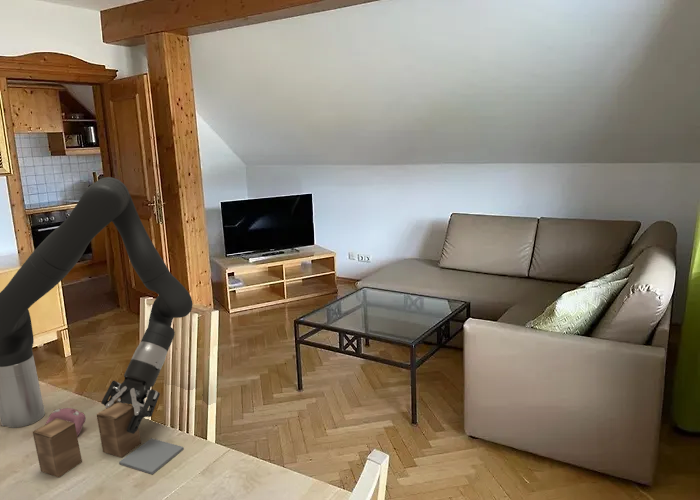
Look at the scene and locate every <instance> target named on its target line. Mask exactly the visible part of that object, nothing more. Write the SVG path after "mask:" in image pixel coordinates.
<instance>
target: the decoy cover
mask: <svg viewBox="0 0 700 500" xmlns="http://www.w3.org/2000/svg"><path fill="white" fill-rule="evenodd" d="M32 436H33V440H34V446H35V449H36V455H37V460H38V463H39V469H40V472H42V473H43V474H44V473H45V474H47V475H51V476H53V477H57V478H60V477H62V476H63V475H65V474H66V473H68V472H69V471H71V470H72V469H74V468H75V467H77V466H78V465H80V464H81V463H83V459H82V455H81V450H80V444H79V438H78V436H77V432H76V427H75V423H72V422H70V421H65V420H62V419H58V418H56V419H54V420H52V421H51V422H49V423H47V424H46V423H45V424H44V425H42V426H40V427H39V428H37V429H35V430H34V431H32Z"/></svg>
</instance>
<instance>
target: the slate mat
mask: <svg viewBox="0 0 700 500" xmlns="http://www.w3.org/2000/svg"><path fill="white" fill-rule="evenodd" d="M183 450H184V446H181V445H177V444H174V443H170V442H167V441H162V440H160V439H156V438H152V437H151V438H149V439H148V440H147V441H145V442H144V443H143V444H140V445H139V446H138V447H136V448H135V449H133V450H132V451H131V452H129V453H128V455H125V456H124V457H123V458H121V460H119V461H118V465H121V466H123V467H127V468H131V469H134V470H137V471H139V472H144V473H146V474H150V475H151V476H152V475H154V474H156V473H157V471H159V470H160V469H161V468H162V467H164V466H165V465H166V464H168V463H169V462H170V461H171V460H172V459H174V458H175V457H176V456H177V455H178V454H180V453H181V452H183Z"/></svg>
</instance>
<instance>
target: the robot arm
mask: <svg viewBox="0 0 700 500" xmlns="http://www.w3.org/2000/svg"><path fill="white" fill-rule="evenodd" d="M110 223H112V224H114V227H115V228H116V230H117V231H118V233H119V235H120V237H121V239H122V241H123V245H124V247H125V250H126V253H127V254H126V255H128V259H129V261H130V263H131V266H132V267H133V269H134V271H135V272H136V274H137V276H138V277H139V279H140V280H141V282H142V284H143V285H144V286H145V288H146V289H147V290H148V291H152V292H153V293H156V294H157V296H156V298H155V299H154V301H153V303H152V305H151V309H150V314H149V317H148V325H147V328H146V329H145V331H144V334H143V336H142V338H141V340H140V342H139V344H138V346H137V347H136V349H135V351H134V352H133V355H132V357H131V359H130V361H129V364H128V365H127V368H126V370H125V372H124V375H123V377H124V380H123V382H122V383H121V382H118V381H117V380H112V381H111V383H110V385H109V387H108V389H107V391H106V392H105V394H104V396H103V398H102V400H101V404H102V405H103V406H104V407H105V409H106V408H108V407H109V406H111V405H112V404H114V403H116V402H120V403H124V404H128V405H132V406H133V407H134V413H135V416H133V417H132V419H131V421H130V423H129V426H128V428H127V432H129V433H132V434H134V433H135V432H136V431H137V430H138V427H140V425H141V422H142V421H143V419H144V418H146V417H147V418H150V417H152V415H153V414H154V411H155V408H156V405H157V403H158V400H159V397H160V394H161V393H160V391H159V392H158V391H157V390H155V389H151V388H152V387H154V386H155V384H156V381H157V379H158V377H159V375H160V372H161V371H162V368H163V365H164V363H165V361H166V357H167V355H168V351H169V349H170V347H171V345H172V342H173V340H174V337H175V335H176V334H175V329H174V328H173V327H172V323H173V320H174V319H177V318H179V319H181V318H184V317H187V316H188V315H189V314H190V313H191V312H192V310H193V299H192V296H191V294H190V293H189V291H188V290H187V289H186V287H185V286H184V285H183V284H182V283H181V282H180V281H179V280H178V279H177V278H176V277H175V276H174V275H173V274H172V273H171V272H170V269H169V268H168V267H167V264H166V263H165V261H164V260H163V258H162V257H161V255H160V253H159V251H158V250H157V249H156V247H155V245H154V243H153V241H152V240H151V237H150V236H149V233H148V232H147V231H146V228H145V226H144V224H143V222H142V220H141V218H140V215H139V214H138V211H137V208H136V206H135V203H134V201H133V199H132V196H131V194H130V192H129V189H128V187H127V186H126V185H125V184H124V183H123V182H122V181H121V179H117V178H115V177H109V176H107V177H103V178H102V177H101V178H100V179H98V180H96V181H95V182H94V183H92V184H91V185H90V186H88V188H86V189H85V190H84V192H83V194H82V195H81V197H80V199H79V200H78V201H77V203H76V204H75V206H74V207H73V209H72V210H71V212H70V213H69V215H68V216H67V217H66V218H65V220H64V221H62V223H61V224H60V225H59V226H57V227H56V228H55V229H54V230H53V231H52V232H50V234H48V236H46V237H45V238H44V240H43V241H41V243H39V245H38V246H37V247H35V249H34V250H33V252H32V253H30V255H29V256H28V258H27V259H26V260H25V262H24V263H22V265H21V266H20V267H19V269H18V270H17V271H16V273H15V274H14V275H13V277H12V278H11V279H10V281H9V282H8V284H7V285H6V286H5V287H4V288H3V289H2V290H1V291H0V423H1V426H2V427H8V428H14V429H15V428H16V429H17V428H21V427H25V426H29V425H32V424H34V423H36V422H38V421H40V420H41V419H43V418H44V416H45V405H44V402H43V396H42V392H41V387H40V382H39V377H38V373H37V367H36V362H35V358H34V352H33V347H34V339H35V338H34V331H33V325H32V318H31V313H30V310H29V309H30V307H31V306H32V305H34V304H35V303H36V302H37V301H39V300H40V299H41V298H42V297H44V296H45V295H47V293H49V292H50V291H51V290H52V289H53V288H55V287H56V286H57V285H58V284H59V283H60V282H61V281H62V280H63V279H64V278H66V276H67V275H68V274H69V273H70V272H71V270H72V269H73V268H74V267H75V266H76V264H77V263H78V261H80V259H81V257H83V255H84V253H85V251H86V249H87V247H88V246H89V244H90V243H91V241H92V240H93V239H94V238H95V237H96V236H97V235H98V234H99V233H100V232H101V231H103V229H104V228H106V227H107V226H108V225H109V224H110Z"/></svg>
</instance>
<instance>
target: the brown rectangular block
mask: <svg viewBox="0 0 700 500" xmlns="http://www.w3.org/2000/svg"><path fill="white" fill-rule="evenodd" d="M133 416H135V413H134V407H133V406H132V405H131V404H126V403H125V404H124V403H120V402H116V403H114V404H112V405H111V406H109V407H108V408H106V407H105V408H104V409H102V410H101V411H99V412H98V413H96V420H97V427H98V431H99V437H100V442H101V443H100V444H101V448H102V453H105V454H108V455H111V456H114V457H118V458H121V459H123V458H124V457H126V456H127V454H128V455H129V454H130V453H131V452H133V451H134V450H135V449H137V448H138V447H140V446H141V445H142V440H141V434H140V428H139V427H140V426H139V427H138V430H137V431H136V432H135V433H134V434H132V433H129V432H127V428H128V426H129V423H130V421H131V419H132V417H133Z"/></svg>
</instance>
